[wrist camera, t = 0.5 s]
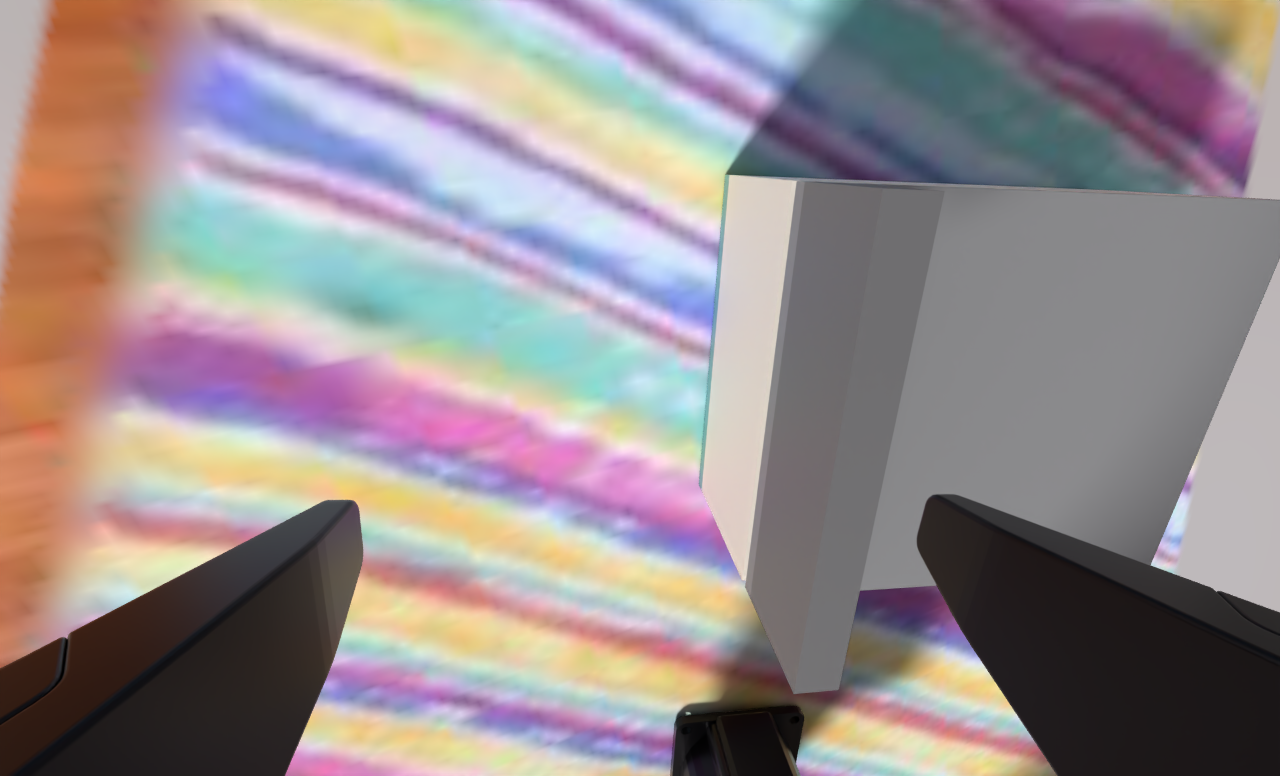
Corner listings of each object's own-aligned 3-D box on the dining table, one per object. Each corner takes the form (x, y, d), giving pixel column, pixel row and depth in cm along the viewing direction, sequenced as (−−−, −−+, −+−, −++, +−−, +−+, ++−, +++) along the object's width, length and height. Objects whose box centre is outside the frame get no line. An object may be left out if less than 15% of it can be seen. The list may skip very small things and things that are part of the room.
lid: (1134, 562, 20) (1263, 651, 17) (745, 586, 18) (793, 694, 15) (1282, 200, 16) (1499, 212, 12) (796, 181, 14) (883, 188, 10)
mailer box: (1005, 473, 26) (1126, 557, 21) (698, 484, 24) (742, 580, 19) (1089, 189, 22) (1270, 199, 16) (725, 174, 20) (791, 180, 14)
